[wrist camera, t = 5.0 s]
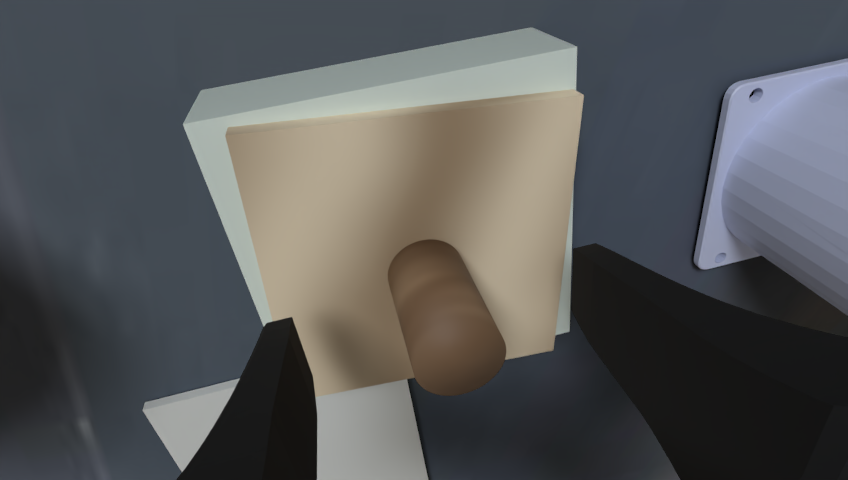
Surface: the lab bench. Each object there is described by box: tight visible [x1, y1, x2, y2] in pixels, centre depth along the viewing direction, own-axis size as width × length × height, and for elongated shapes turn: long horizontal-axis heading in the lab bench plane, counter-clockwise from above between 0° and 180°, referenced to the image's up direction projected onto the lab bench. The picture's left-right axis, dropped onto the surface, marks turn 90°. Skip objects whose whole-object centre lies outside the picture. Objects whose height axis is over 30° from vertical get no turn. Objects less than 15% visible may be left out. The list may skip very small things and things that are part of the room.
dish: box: [183, 27, 577, 398], centre depth 17 cm, size 10×10×3 cm
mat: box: [143, 378, 428, 480], centre depth 23 cm, size 10×10×1 cm
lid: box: [225, 89, 584, 397], centre depth 14 cm, size 9×9×5 cm
